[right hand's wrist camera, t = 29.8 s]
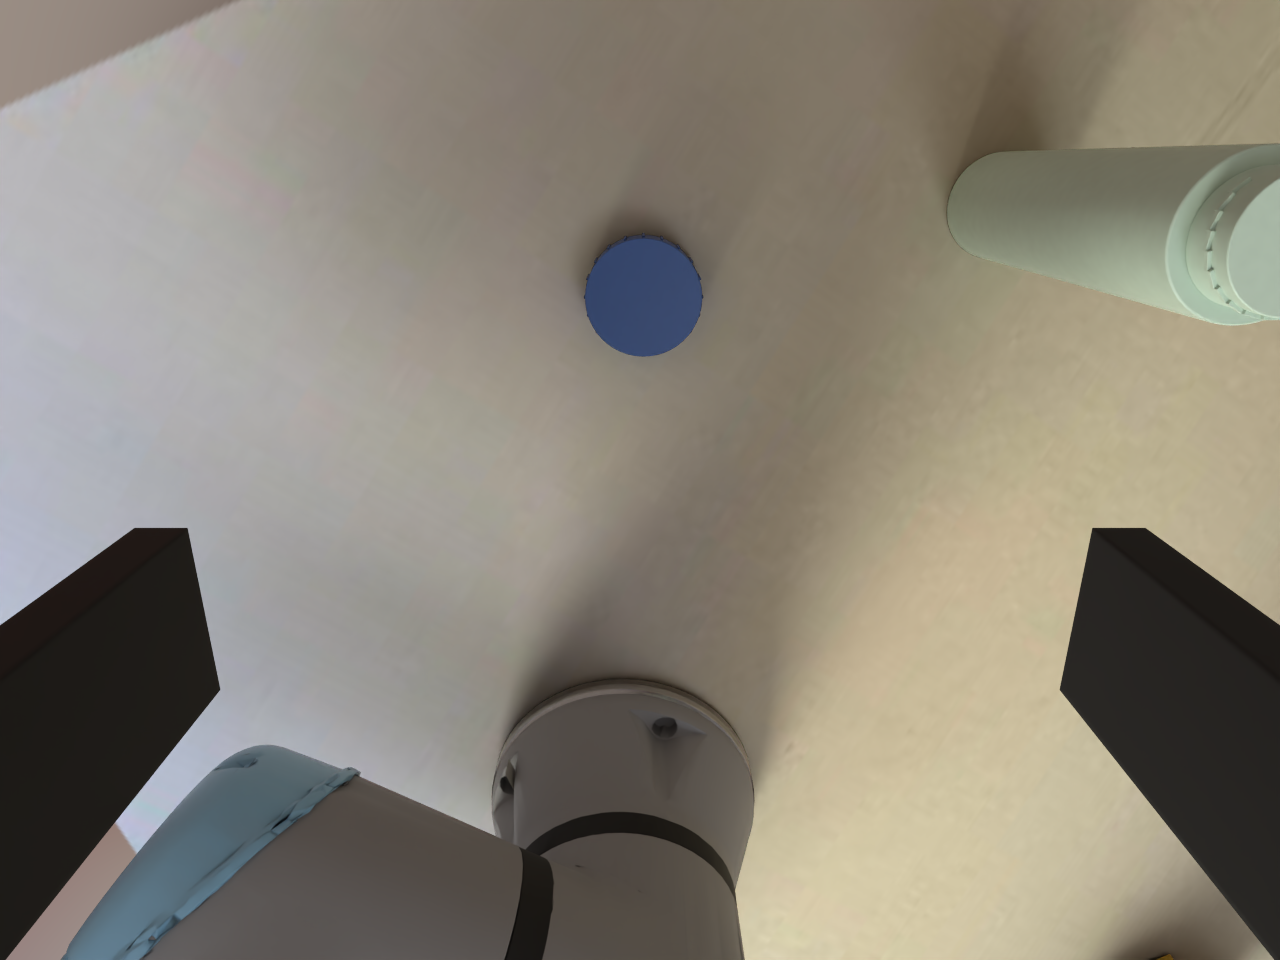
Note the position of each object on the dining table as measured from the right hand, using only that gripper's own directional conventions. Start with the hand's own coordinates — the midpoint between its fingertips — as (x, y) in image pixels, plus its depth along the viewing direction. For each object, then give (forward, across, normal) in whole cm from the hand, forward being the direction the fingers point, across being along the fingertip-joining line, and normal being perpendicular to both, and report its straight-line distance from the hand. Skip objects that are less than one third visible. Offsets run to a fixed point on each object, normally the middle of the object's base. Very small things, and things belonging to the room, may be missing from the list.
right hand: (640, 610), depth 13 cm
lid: (+28, 0, 0) cm, 29 cm away
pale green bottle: (+30, +17, +4) cm, 35 cm away
